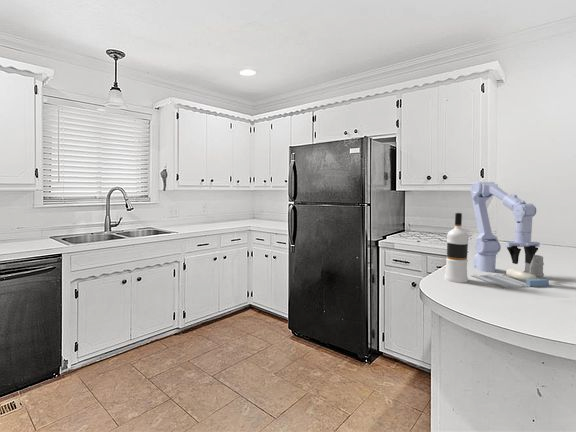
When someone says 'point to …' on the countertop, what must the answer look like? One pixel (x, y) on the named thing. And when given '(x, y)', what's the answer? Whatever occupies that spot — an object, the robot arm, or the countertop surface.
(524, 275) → the cream paper roll
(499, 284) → the board
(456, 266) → the vodka
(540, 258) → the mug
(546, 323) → the countertop surface
